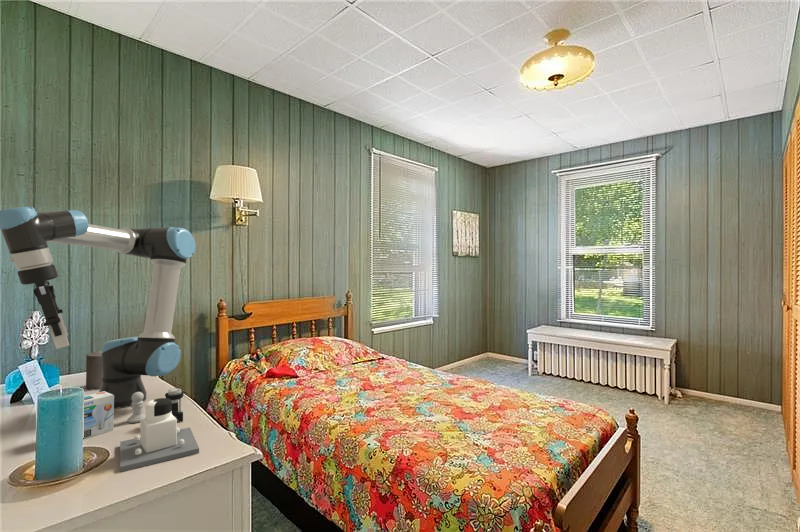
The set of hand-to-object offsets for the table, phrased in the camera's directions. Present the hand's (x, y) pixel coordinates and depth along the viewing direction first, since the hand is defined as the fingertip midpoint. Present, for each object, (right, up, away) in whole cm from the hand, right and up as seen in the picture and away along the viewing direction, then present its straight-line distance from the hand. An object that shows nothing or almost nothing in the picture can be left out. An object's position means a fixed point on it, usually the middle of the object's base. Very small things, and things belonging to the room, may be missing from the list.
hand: (62, 341), depth 109 cm
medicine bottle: (+28, -28, -2) cm, 39 cm away
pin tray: (+28, -29, -2) cm, 40 cm away
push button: (+20, -29, +17) cm, 39 cm away
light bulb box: (+1, -29, +8) cm, 30 cm away
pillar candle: (-31, -29, +56) cm, 70 cm away
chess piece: (+8, -29, +19) cm, 35 cm away
